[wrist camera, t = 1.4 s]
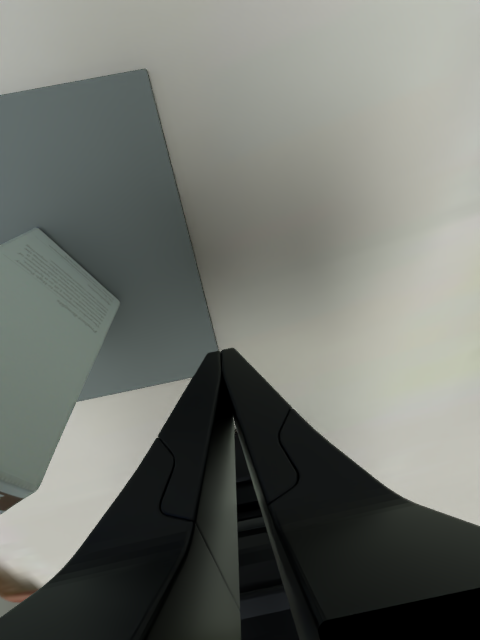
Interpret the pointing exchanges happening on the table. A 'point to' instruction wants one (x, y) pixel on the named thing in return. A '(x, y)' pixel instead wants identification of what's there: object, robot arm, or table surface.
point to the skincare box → (43, 353)
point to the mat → (109, 219)
